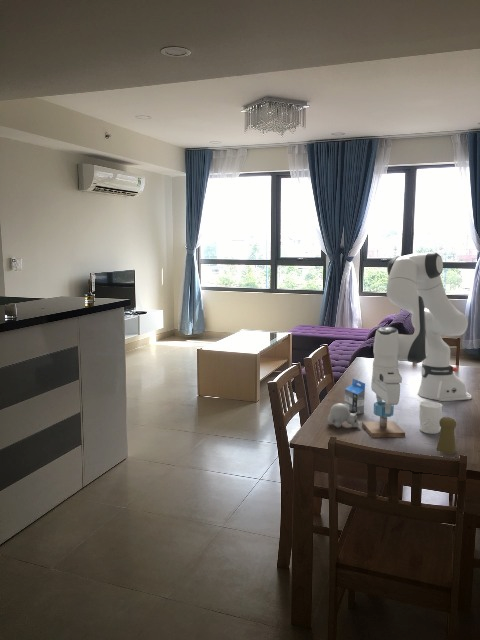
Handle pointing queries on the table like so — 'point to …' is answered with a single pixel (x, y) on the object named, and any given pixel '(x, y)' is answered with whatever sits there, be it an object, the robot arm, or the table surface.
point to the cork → (447, 436)
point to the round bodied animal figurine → (342, 416)
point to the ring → (382, 410)
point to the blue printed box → (355, 397)
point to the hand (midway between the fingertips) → (383, 409)
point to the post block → (383, 428)
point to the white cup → (430, 416)
